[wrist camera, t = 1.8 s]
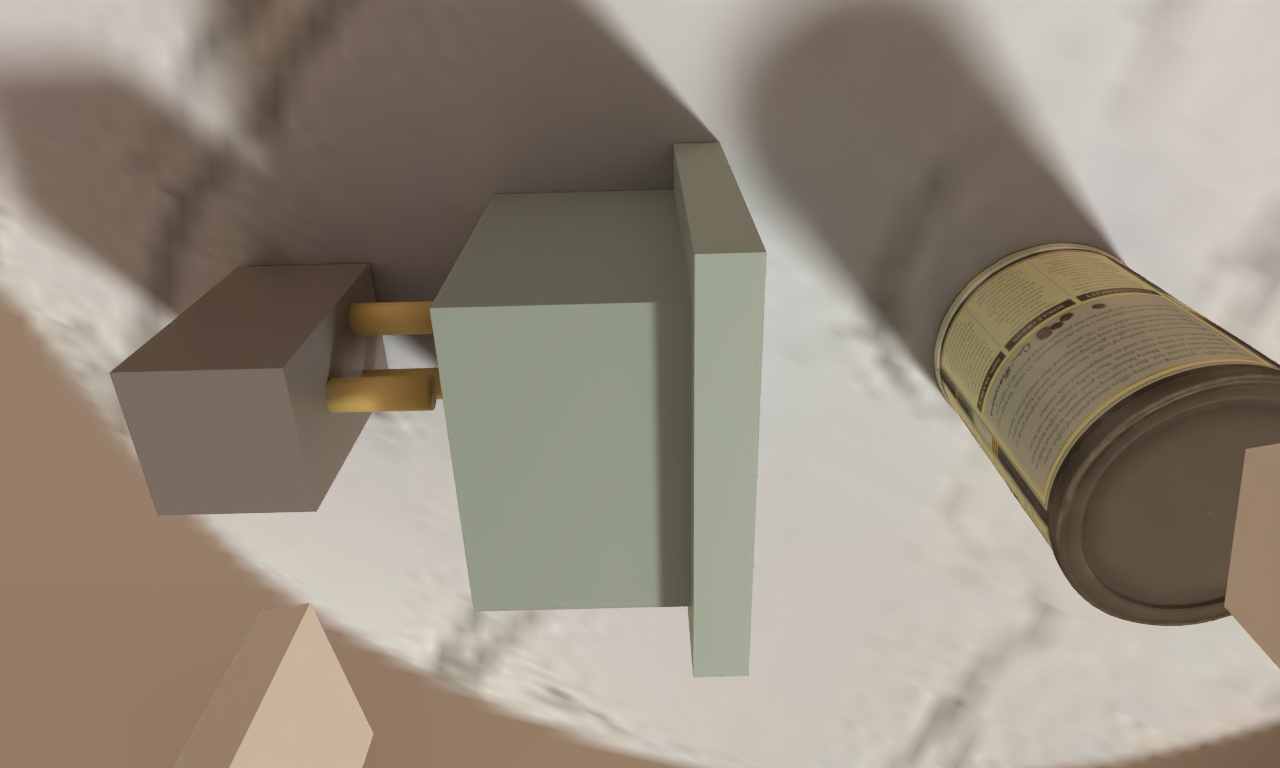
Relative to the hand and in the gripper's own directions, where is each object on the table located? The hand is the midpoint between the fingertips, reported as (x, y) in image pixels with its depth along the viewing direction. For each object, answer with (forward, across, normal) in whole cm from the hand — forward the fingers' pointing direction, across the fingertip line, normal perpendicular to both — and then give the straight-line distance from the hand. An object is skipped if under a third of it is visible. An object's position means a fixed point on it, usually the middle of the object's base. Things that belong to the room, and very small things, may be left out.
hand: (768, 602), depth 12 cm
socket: (+28, -4, -7) cm, 30 cm away
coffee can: (+29, +16, -12) cm, 35 cm away
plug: (+28, -16, -5) cm, 33 cm away
